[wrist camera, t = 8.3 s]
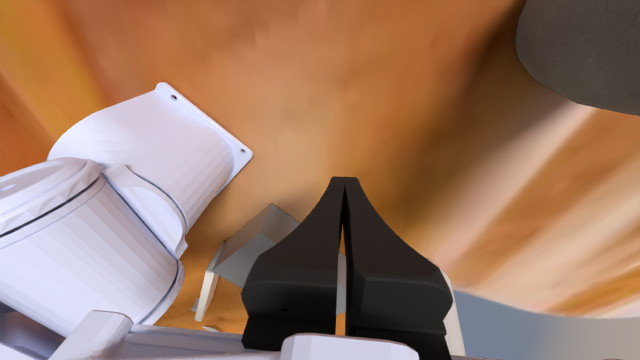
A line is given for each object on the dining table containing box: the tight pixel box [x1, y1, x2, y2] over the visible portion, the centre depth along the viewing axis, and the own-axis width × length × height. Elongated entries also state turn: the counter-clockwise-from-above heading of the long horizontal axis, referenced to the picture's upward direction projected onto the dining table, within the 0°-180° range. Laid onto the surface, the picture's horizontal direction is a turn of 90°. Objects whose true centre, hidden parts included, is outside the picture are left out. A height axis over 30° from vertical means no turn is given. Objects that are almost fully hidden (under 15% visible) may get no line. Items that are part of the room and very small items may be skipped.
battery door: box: [191, 241, 226, 322], centre depth 33 cm, size 16×2×4 cm, turn 157°
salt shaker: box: [426, 258, 466, 356], centre depth 25 cm, size 6×6×13 cm
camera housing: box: [211, 203, 346, 315], centre depth 29 cm, size 16×10×5 cm, turn 46°
